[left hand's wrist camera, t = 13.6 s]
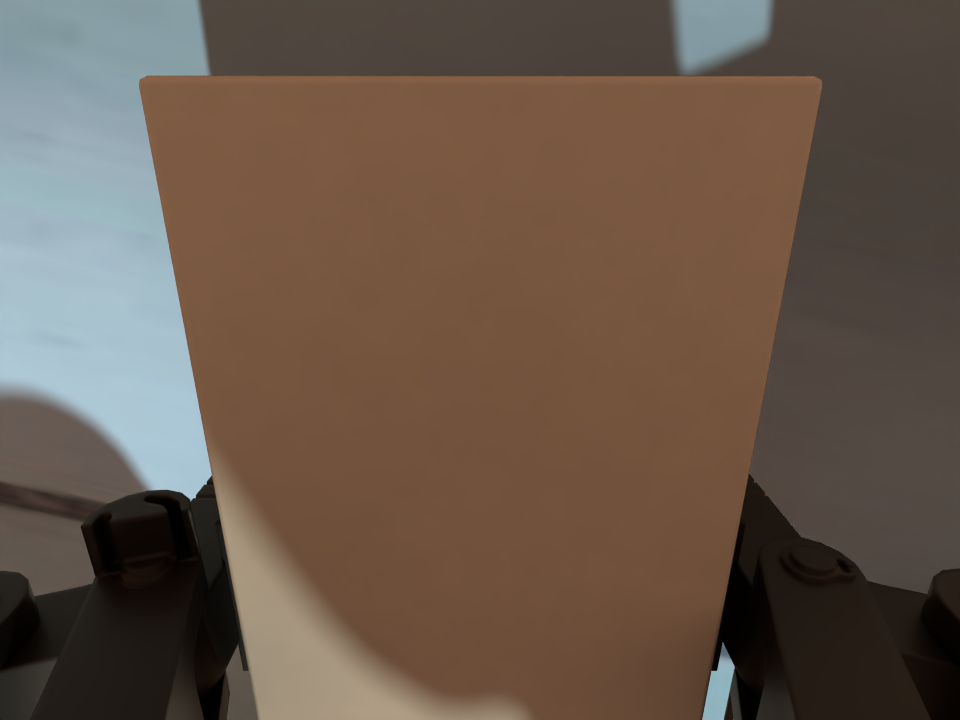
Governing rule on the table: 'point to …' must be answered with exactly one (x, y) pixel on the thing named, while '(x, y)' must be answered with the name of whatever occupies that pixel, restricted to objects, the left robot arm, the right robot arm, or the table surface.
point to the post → (480, 374)
